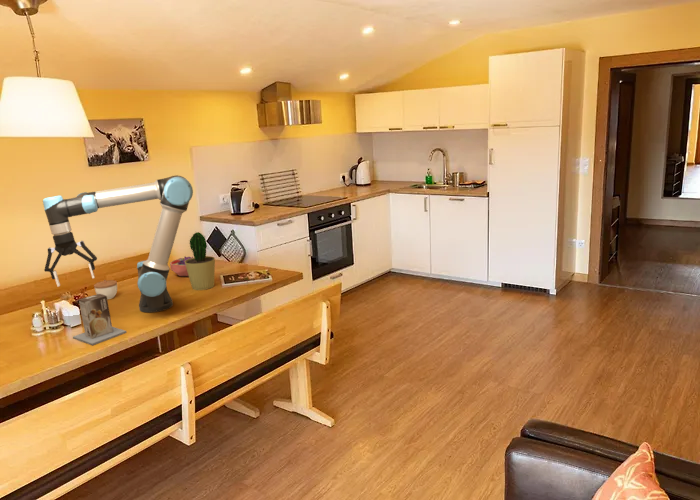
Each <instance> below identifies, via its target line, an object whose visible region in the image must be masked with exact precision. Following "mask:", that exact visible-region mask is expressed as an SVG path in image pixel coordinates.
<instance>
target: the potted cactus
mask: <svg viewBox="0 0 700 500" xmlns="http://www.w3.org/2000/svg"><path fill="white" fill-rule="evenodd" d="M206 236H207V235H204V234H202V232H200V231H198V232H197V231H195V232H194V233H192V235H191V236H190V238H189V247H190V251H191V253H192V255H193V258H190V259H188V260H186V261H185V265H186V268H187V272H188V275H189V276H188V279H189V282H190V285H191V288H192V290H194V291H204V290H209V289H212V288H213V287H215V270H216V269H215V266H216V257H214V256H209V255H207V252H208V251H207V250H209V247H208V242H207V239H206Z"/></svg>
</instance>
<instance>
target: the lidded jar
mask: <svg viewBox="0 0 700 500" xmlns="http://www.w3.org/2000/svg"><path fill="white" fill-rule="evenodd" d="M93 288H94V291H95V295H97V294H103V295H105V296H107V300H111V299H114V298H115V297H116V294H117V292H118V282H117V280H113V279H111V280H106V279H103V281H98V282H96V283H95V284H93Z"/></svg>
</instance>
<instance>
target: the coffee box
mask: <svg viewBox="0 0 700 500" xmlns="http://www.w3.org/2000/svg"><path fill="white" fill-rule="evenodd" d="M78 304H79V310H80V315H81V318H82V319H81V320H82V324H83V329H84V332H85V335H86V336H87V337H89V338H91V339H93V338H96V337H99V336H102V335H105V334H108V333H111V332H113V328H112V327H113V324H112V318H111V314H110V308H109V303H108V299H107V296H105V295H103V294H94V295H89V296H86V297H83V298H79V299H78Z"/></svg>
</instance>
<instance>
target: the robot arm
mask: <svg viewBox="0 0 700 500" xmlns="http://www.w3.org/2000/svg"><path fill="white" fill-rule="evenodd" d="M193 193H194V189H193V186H192V184H191V182H190V181H189V180H188V179H187V177H186V178H185V177H184V176H182V175H179V174H177V175H176V174H175V175H172V176H169V177H165V178H160V179H155V181H154V182H148V183H143V184H142V183H141V184H135V185H129V186H122V187H121V186H120V187H116V188H109V189H102V190H97V191H92V192H91V191H90V192H87V191H85V192H84V191H83V192H81V193H78V194H77V195H76V196H74V197H72V198H67V199H66V198H65V199H64V198H63V196H62V195H55V196H54V195H53V196H49V197H45V198H43V200H42V205H43V209H44V212H45V215H46V218H47V222H48V224H49V229H50V233H51V234H52V235H53V236H52V239H53V242H54V243H53V244H54V247H48V248H47V258H46V261H45V265H44V266H45V267H44V269H43V270H44V272H48V273H50V276H51V279H52V280H55V283H56V286H57V288H59V287H60V286H61V283H60V280H59V275H58V273H57V270H55V268H56V266H57V265H58V262H59V261H60V259H61V257H62V256H63V257H64V256H68V255H69V256H70V255H73V254H75V255H77V256H79V257H81V258H82V259H84V260H85V261H87V262H88V267H89V271H90V276H91V278H92V279H95V277H96V276H95V273H94V270H95V269H96V267H95V263H94V262H95V261H97V260H98V257H97V255H95V254H94V253H93V252H92V251H91V249H89V247H87V246H86V244H85V241H84V240H81V241H78V242H76V241H75V240H76V239H75V236H74V233H73V231H72V226H71V223H70V220H69V218H72V217H77V216H78V217H79V216H83V215H88V214H89V215H90V214H92V213H96V212H98V210H99V209H101V208H108V207H114V206H116V207H117V206H122V205H128V204H134V203H141V202H145V201H146V202H147V201H153V200H160V201H159V204H160V206H161V212H160V216H159V219H158V223H157V225H156V230H155V233H154V237H153V239H152V243H151V247H150V251H149V254H148V257H147V259H146V260H141V261H138V262H137V264H136V270H137V276H138V277H137V288H138V290H139V291H140V299H139V303H138V308H139V311H140V312H142V313H158V312H163V311H165V310H169V309H170V308H172V307H173V305H174V303H173V298H172V296H171V295H170V292H169V291H168V288H167V280H168V277H169V273H170V270H171V269H170V265H169V264H168V263H169V260H170V258H171V257H170V256H171V254H172V250H173V246H174V244H175V243H174V242H175V239H176V236H177V231H178V228H179V225H180V223H181V218H182V215H183V214H184V213H185V212H187V211H188V207H189V204H190V201H191V200H192V197H193V195H194V194H193ZM78 246H79V247H80V248H82V249H83V250H84V251H85V253H87V254H88V255H89V256H87V254H84V253H82V252H81V251H80V250H78V249H77V247H78ZM55 251H56V252H57V253H58V254H57V256H56V258H55V259H54V261H53V263H52V265H51V267H50V264H51V260H52V255H53V254H54V253H55Z"/></svg>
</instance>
